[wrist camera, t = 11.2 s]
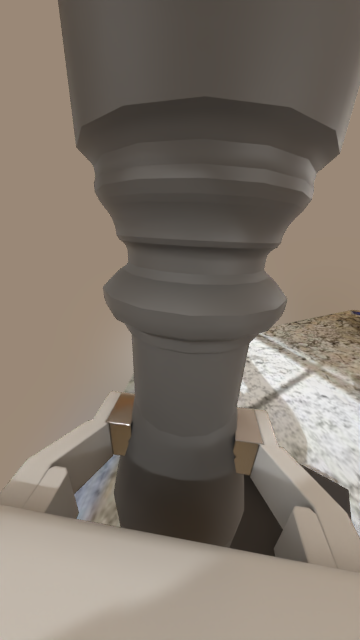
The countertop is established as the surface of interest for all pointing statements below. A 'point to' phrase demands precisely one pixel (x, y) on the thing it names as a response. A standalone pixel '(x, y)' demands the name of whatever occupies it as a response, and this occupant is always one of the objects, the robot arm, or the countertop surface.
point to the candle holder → (201, 212)
